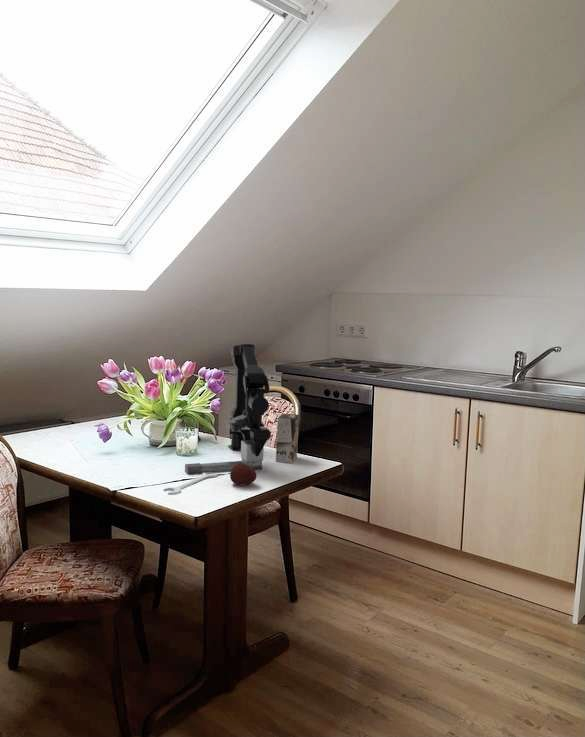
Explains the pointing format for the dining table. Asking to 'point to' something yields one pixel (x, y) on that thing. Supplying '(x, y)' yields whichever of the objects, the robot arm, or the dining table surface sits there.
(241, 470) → the potato
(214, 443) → the dining table surface
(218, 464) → the ratchet
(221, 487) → the dining table surface
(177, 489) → the wrench
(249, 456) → the socket
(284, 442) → the coffee box
